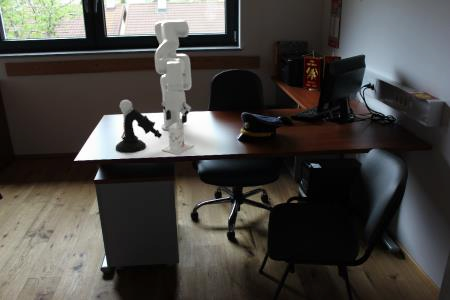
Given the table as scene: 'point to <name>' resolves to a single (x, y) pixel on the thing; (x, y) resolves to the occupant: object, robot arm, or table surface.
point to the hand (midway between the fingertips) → (176, 121)
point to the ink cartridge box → (176, 135)
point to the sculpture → (130, 140)
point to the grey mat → (178, 150)
